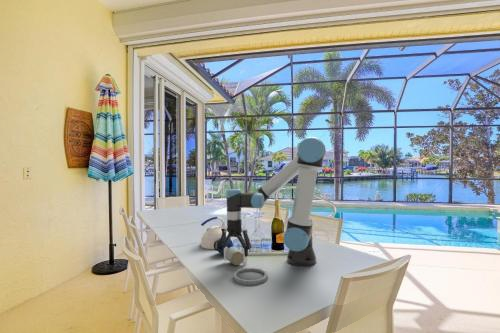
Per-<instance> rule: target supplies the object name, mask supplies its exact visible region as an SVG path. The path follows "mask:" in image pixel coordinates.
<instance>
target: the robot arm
mask: <svg viewBox="0 0 500 333" xmlns="http://www.w3.org/2000/svg"><path fill="white" fill-rule="evenodd" d="M326 150H327V149H326V146H325V144H324V142H323V141H322V140H321V139H320V138H318V137H314V136H308V137H305V138H303V139H302V140H301V141H300V143H299V144H298V146H297V153H296V155H295V157H294V158H293V159H292V160H290V161H289V162H288V163H287V164H286V165H285V166H283V167H282V168H281V169H280V170H279V171H278V172H276V173H275V174H274V175H273V176H272V177H271V178H270V179H268V180H267V181H266V182H265V183H264V184H262V185H261V186H260V187H259V188H258V189H256V191H253V192H242V191H241V189H239V188H229V189H227V190H226V197H225V198H226V218H227V220H226V226H228V227H227V228H223V229H222V235H221V239H220V243H219V246H221V247H222V248H223V254H222V255H223V261H225V262H226V261H228V260H227V259H226V257H225V253H226V251H227V249H228V247H226V246H227V244H228V242H229V240H230V238H231V239H232V238H233V237H234V238H237V240H238V241H239V243H240V245H241V246H242V254H243V261H242V263H243V264H245V263H247V262H248V258H247V257H248V256H249V250H250V249H252V245H251V240H250V238H249V234H248V229H247V228H245V229H243V228H242V226H243V225H242V222H243V221H242V209H262V208H263V207H264V205H265V203H266V202H267V201H268V199H270V198H271V197H272V196H273V195H275V193H277V192H278V191H279V190H281V189H282V187H284V186H286V184H288V183H289V182H290V181H292V180H293V179H294V178H295V177H296V176H297V182H296V187H295V193H294V199H293V205H292V210H291V211H292V212H291V216H289V218H287V222H286V229H285V231H284V233H283V236H282V238H283V243H284V245H285V246H286V247H287V249H288V252H287V255H286V261H287V262H288V263H289V264H291V265H293V266H299V267H300V266H301V267H304V266H305V267H307V266H313V265H315V264H316V263H317V257H316V254H315V250H314V247H313V225H314V224H313V220H312V218H311V212H312V208H313V207H312V206H313V200H314V195H315V188H316V183H317V177H318V171H319V170H321V169H322V166H323V162H324V158H325V155H326V152H327V151H326ZM227 231H228V233H229V234H228V236H227V238H226V240H225V236H226V232H227ZM224 240H225V242H224Z"/></svg>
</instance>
